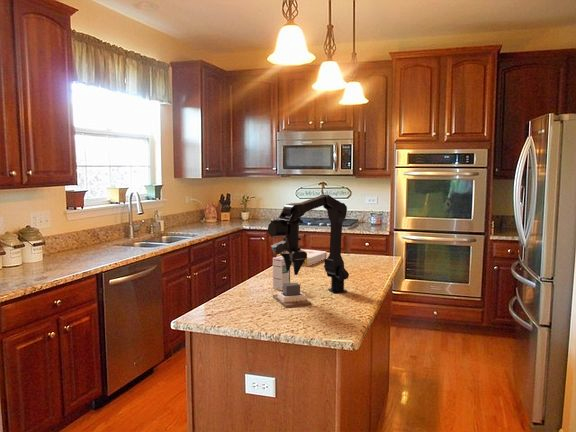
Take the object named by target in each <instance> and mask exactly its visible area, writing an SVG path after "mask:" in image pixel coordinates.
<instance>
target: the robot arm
mask: <svg viewBox="0 0 576 432" xmlns="http://www.w3.org/2000/svg"><path fill="white" fill-rule="evenodd" d="M321 207H323V208H324V210H326V211H327V217H328V220H329V221H330V234H329V235H330V236H329V238H330V239H329V255H327V259H326V258H325V260H323V261H324V262H323V263H324V265H323V268H324V271H325V272H326V275H327V278H329V277H330V280H331V281H330V288H328V291H329V292H332V294H340V293H341V294H342V293H347V292H348V290H346V289H345V280H347V279H349V276H350V273H349V272H348V271H347V270H346V268H345V263H344V262H345V261H344V260H343V257H342V235H343V222H344V221H345V219H347V218H346V217H347V211H348V207H347V205H346V204H345V203H344V202H342V201H340V200H337V199H335V198H334V197H332V196H331V195H330V194H320V195H319V196H316V197H313V198H310V199H307V200H305V201H301V202H294V203H293V202H291V203H285V204H284V206H283V208H282V211H281V212H280V214H279V215H278V217H277V219H271V220H270V223H269V224H268V227H267V233H268V235H269V236H270V237H271V238H274V237H275V238H276V237H282V240H281V241H278V242H276V243H274V244H272V245H270V247H271V250H272V252H273V254H275V255H278V254H280V255H281V256H282V257H283V259H284V262H285V266H286V270H290V271H291V267H293V274H294V276H298V275H299V272H300V270H301V268H302V267H303V266H302V264H303V262H304V260H306V259H307V253H306V252H305V251H303V250H301V249H302V248H301V247H300V241H302V239H301V237H300V225H301V224H304V221H303V220H302V219H301V217H303V216H304V215H305V214H306V213H307V212H309V211H312V210H315V209H317V208H321ZM292 262H293V265H291V263H292Z"/></svg>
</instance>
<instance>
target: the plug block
mask: <svg viewBox="0 0 576 432" xmlns="http://www.w3.org/2000/svg"><path fill="white" fill-rule="evenodd" d="M282 292H283V295H284V296H296V295H300V292H301V284H299V283H297V282H292V283H291V282H290V283H288V284H283V290H282Z"/></svg>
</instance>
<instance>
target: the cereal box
mask: <svg viewBox="0 0 576 432" xmlns="http://www.w3.org/2000/svg"><path fill="white" fill-rule="evenodd" d="M301 250H303V251H305V252H306V253H307V259H306V260H304V262H303V264H302V266H301V267H304V266H305V267H306V268H308V267H309V266H312V264H313V265H315V264H318V263H320V262H322V261H324V259H325V258H328V252H327V251H323V250H315V249H303V248H301ZM280 256H281V255H280V254H276V257H280ZM321 260H322V261H321ZM319 261H320V262H319ZM291 266H293V262H292V263H291ZM307 266H308V267H307Z"/></svg>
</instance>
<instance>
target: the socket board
mask: <svg viewBox="0 0 576 432" xmlns="http://www.w3.org/2000/svg"><path fill="white" fill-rule="evenodd" d="M306 297H307V295H306V294H305V293H303V292H302V291H300V295H296V296H284V295H283V291H282V292H277V294H272V298H273V299H275V301H277V302H278V304H280V305H282V307H284V308H287V309H288V308H295V307H306V306H307V307H308V306H312V302H311V301H310V300H309V299H307V298H306Z"/></svg>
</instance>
